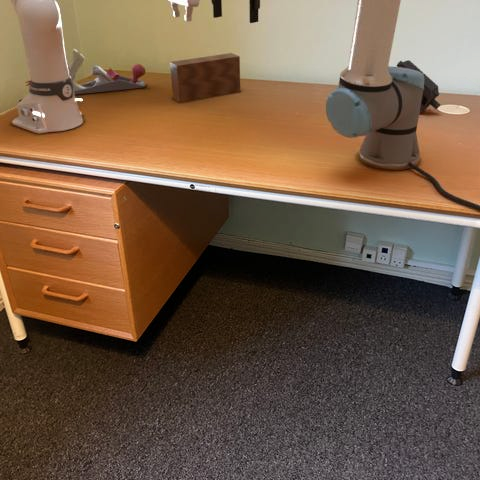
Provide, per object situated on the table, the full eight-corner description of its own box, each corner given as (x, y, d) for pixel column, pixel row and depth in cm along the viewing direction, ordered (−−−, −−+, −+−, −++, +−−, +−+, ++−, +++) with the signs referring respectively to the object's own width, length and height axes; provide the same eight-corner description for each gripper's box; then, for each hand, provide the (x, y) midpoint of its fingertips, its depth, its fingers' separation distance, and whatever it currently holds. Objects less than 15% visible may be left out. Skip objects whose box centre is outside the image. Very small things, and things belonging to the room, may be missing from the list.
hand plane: (62, 90, 197) (53, 48, 189) (145, 82, 205) (140, 41, 197) (62, 96, 191) (54, 53, 184) (148, 87, 199) (143, 45, 191)
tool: (378, 91, 179) (405, 54, 169) (421, 128, 175) (451, 93, 164) (370, 95, 176) (396, 58, 165) (413, 134, 171) (443, 98, 161)
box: (232, 87, 197) (231, 52, 190) (240, 91, 192) (239, 56, 186) (172, 98, 187) (169, 61, 181) (179, 102, 183) (177, 65, 176)
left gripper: (157, -31, 172) (161, 15, 179) (183, -26, 157) (186, 24, 164) (175, -32, 175) (178, 13, 182) (202, -27, 160) (204, 22, 167)
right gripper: (189, -70, 140) (194, 16, 151) (261, -69, 125) (261, 26, 137) (209, -71, 144) (212, 13, 156) (281, -70, 130) (279, 22, 141)
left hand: (182, 18), depth 173 cm, fingers open, 8 cm apart
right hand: (235, 19), depth 146 cm, fingers open, 13 cm apart
